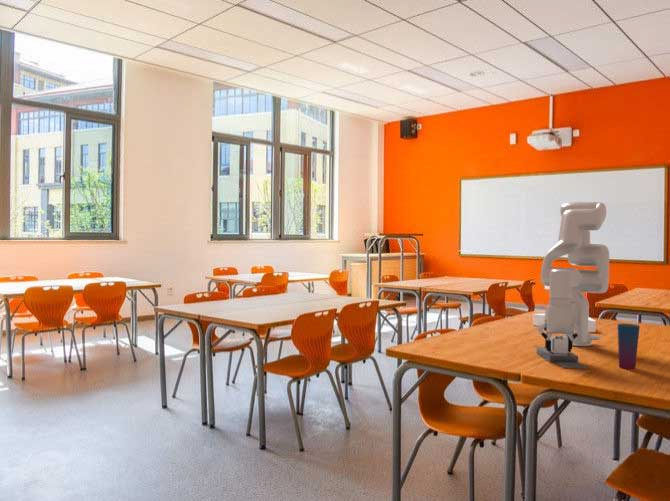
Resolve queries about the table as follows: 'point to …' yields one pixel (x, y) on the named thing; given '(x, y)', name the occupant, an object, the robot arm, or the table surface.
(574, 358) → the dark grey flat block
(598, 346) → the table surface
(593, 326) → the flat white box
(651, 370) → the table surface
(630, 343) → the cup
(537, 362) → the table surface
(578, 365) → the mat
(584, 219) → the robot arm
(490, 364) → the table surface
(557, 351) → the white upright block
